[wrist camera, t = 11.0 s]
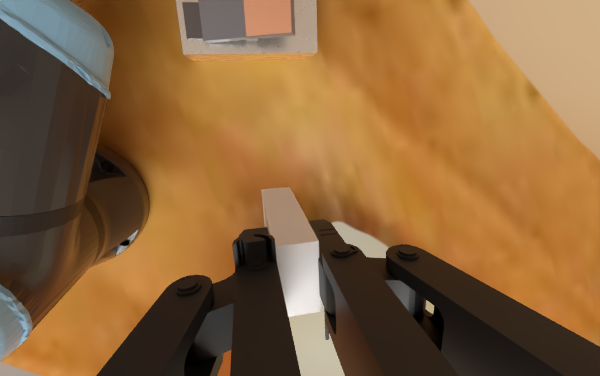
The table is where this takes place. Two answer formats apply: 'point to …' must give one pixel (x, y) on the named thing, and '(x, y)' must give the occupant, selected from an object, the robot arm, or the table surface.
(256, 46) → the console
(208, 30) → the rocker
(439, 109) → the table surface
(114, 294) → the table surface
